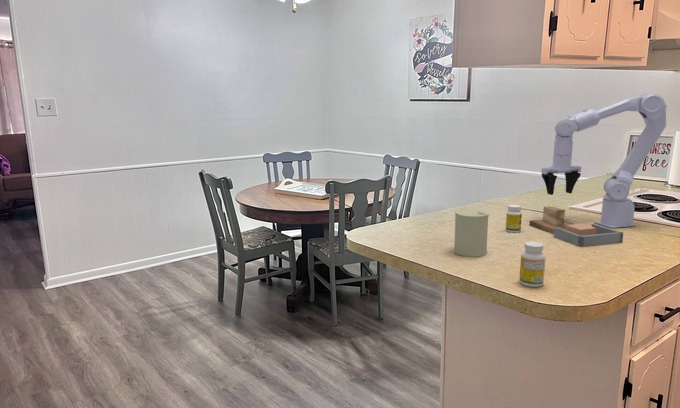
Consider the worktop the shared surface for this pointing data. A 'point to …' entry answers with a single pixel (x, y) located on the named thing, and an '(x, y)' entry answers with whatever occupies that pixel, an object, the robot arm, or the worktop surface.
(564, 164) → the robot arm
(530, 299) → the worktop surface
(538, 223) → the board
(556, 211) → the tall beige block
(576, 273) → the worktop surface
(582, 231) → the pink square block
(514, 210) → the supplement bottle
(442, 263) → the worktop surface
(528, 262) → the supplement bottle
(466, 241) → the can
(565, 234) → the tray
